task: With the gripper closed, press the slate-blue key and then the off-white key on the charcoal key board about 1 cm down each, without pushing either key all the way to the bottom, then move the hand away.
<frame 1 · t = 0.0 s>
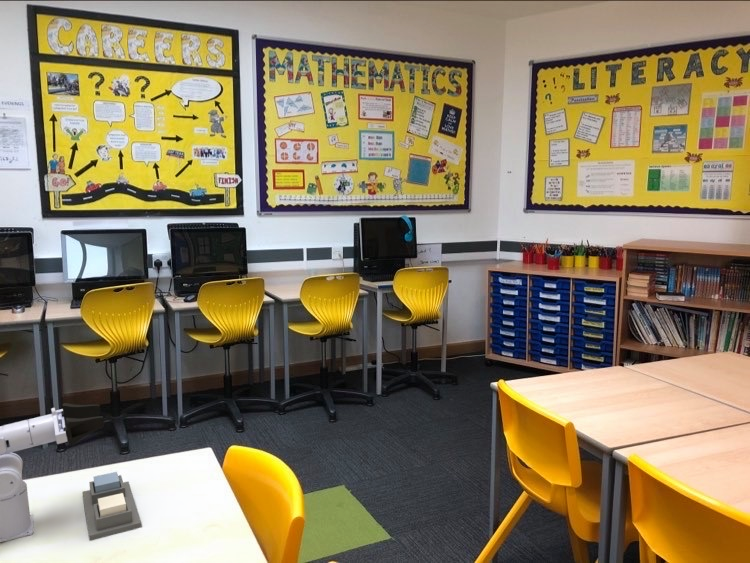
hand: (102, 415, 134), 22 cm above the table, tool horizontal, fingers open, 7 cm apart
white key: (112, 505, 131), point 4 cm above the table, slide at 0.0 cm
key board: (110, 510, 137), on the table
blue key: (106, 482, 141), point 4 cm above the table, slide at 0.0 cm
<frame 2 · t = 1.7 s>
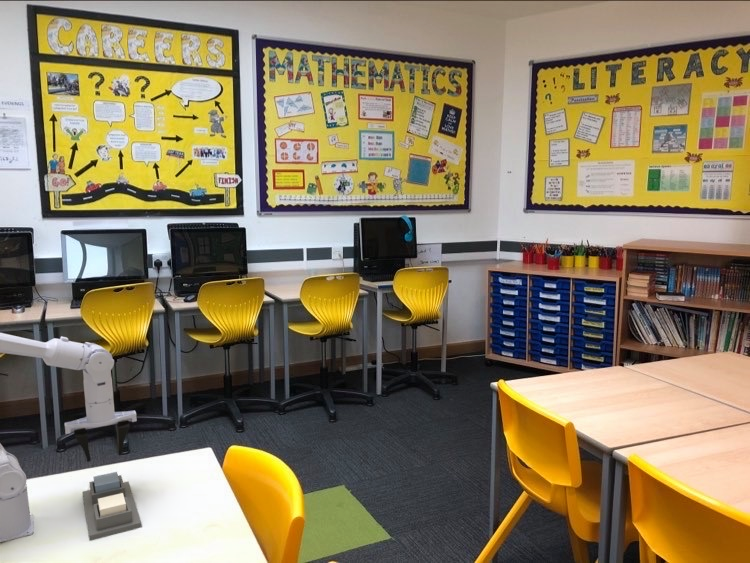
hand: (104, 456, 139), 10 cm above the table, tool pointing down, fingers open, 6 cm apart
nothing on the table moved.
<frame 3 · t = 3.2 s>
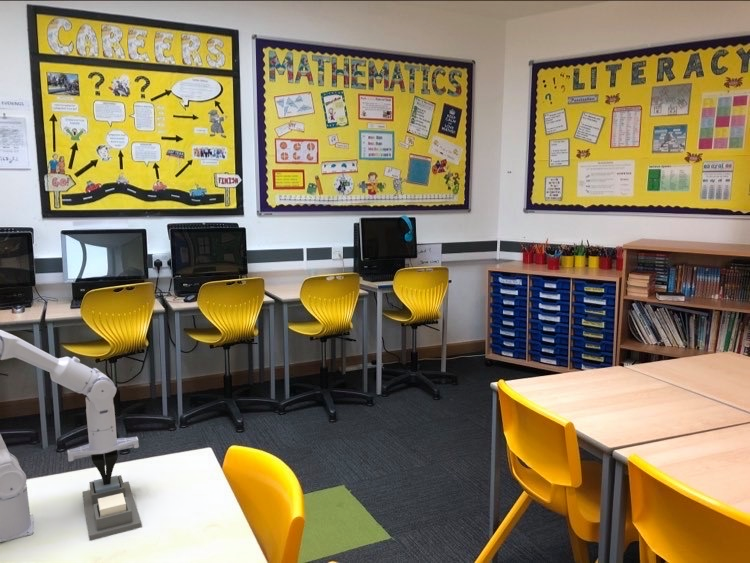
hand: (106, 482, 141), 4 cm above the table, tool pointing down, fingers closed, pressing on blue key
blue key: (107, 486, 141), point 3 cm above the table, slide at 0.9 cm, touching gripper
everything else where it was.
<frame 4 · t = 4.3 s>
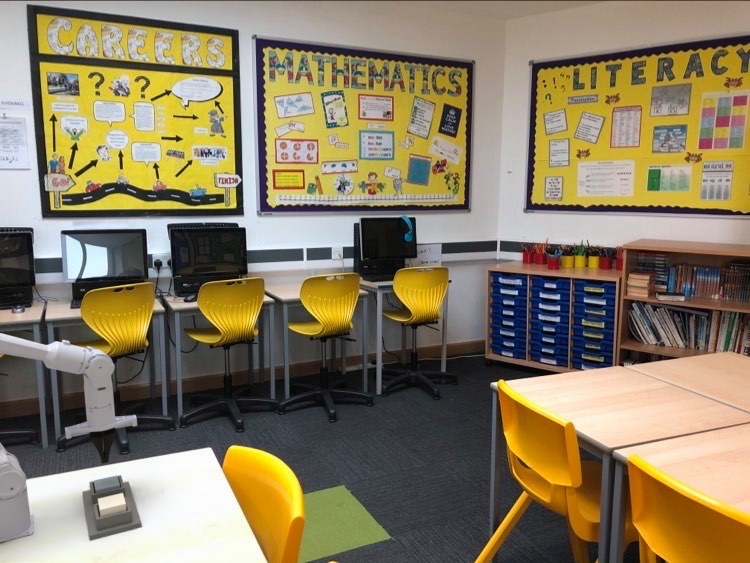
hand: (104, 461, 139), 9 cm above the table, tool pointing down, fingers closed
blue key: (107, 486, 141), point 3 cm above the table, slide at 0.9 cm
everything else where it was.
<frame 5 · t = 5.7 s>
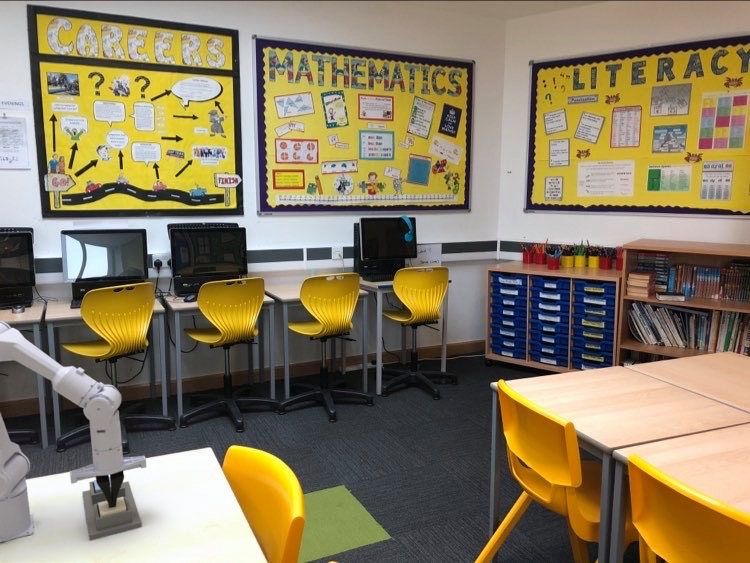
hand: (112, 505, 131), 4 cm above the table, tool pointing down, fingers closed, pressing on white key
white key: (112, 509, 131), point 3 cm above the table, slide at 0.9 cm, touching gripper
everything else where it was.
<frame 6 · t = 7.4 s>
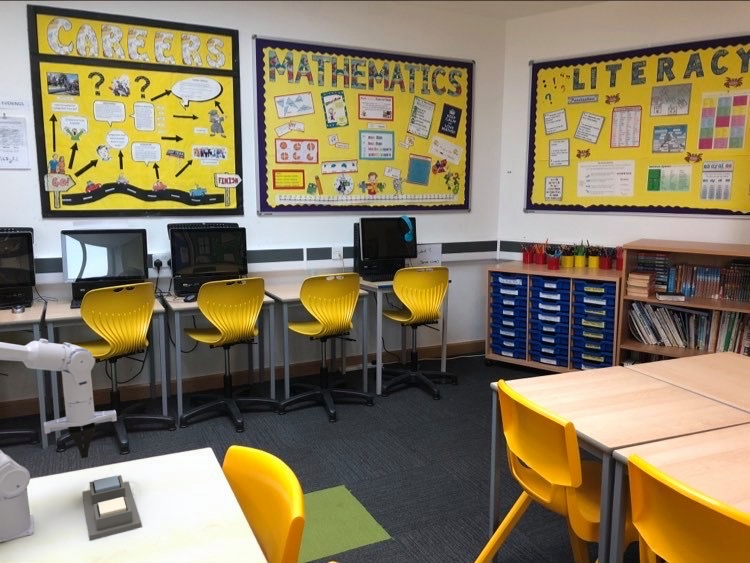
hand: (84, 456, 140), 10 cm above the table, tool pointing down, fingers closed
white key: (112, 509, 131), point 3 cm above the table, slide at 0.9 cm
everything else where it was.
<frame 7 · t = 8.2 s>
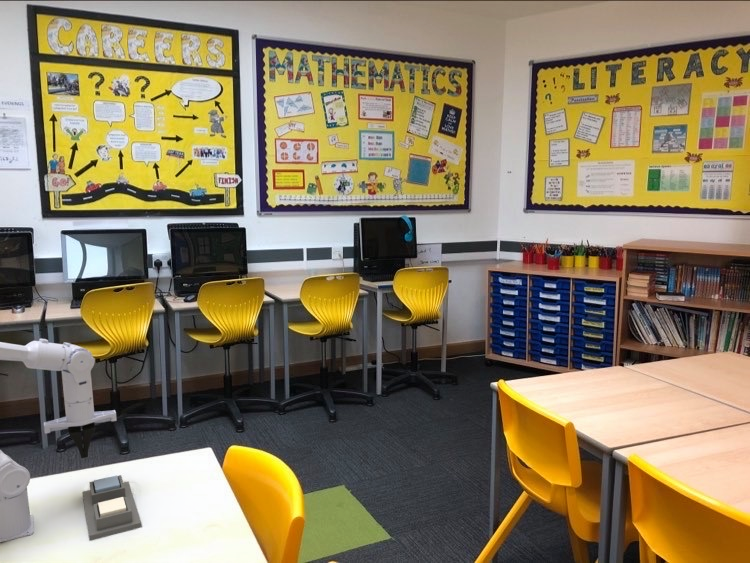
hand: (84, 456, 140), 10 cm above the table, tool pointing down, fingers closed
nothing on the table moved.
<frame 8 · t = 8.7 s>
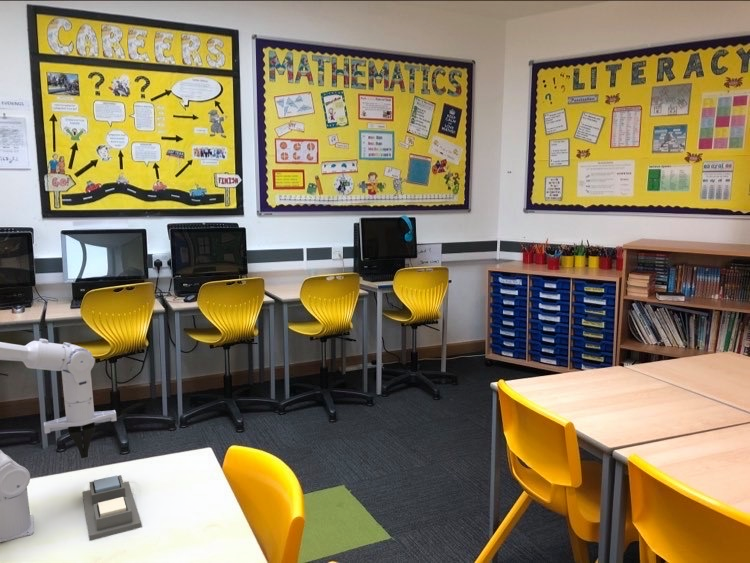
hand: (84, 456, 140), 10 cm above the table, tool pointing down, fingers closed
nothing on the table moved.
at the end: blue key slide at 0.9 cm; white key slide at 0.9 cm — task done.
